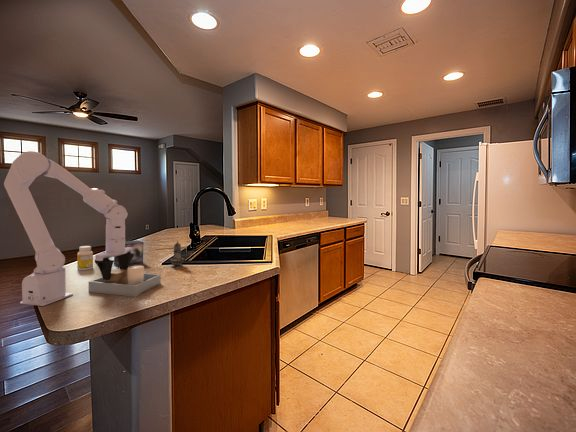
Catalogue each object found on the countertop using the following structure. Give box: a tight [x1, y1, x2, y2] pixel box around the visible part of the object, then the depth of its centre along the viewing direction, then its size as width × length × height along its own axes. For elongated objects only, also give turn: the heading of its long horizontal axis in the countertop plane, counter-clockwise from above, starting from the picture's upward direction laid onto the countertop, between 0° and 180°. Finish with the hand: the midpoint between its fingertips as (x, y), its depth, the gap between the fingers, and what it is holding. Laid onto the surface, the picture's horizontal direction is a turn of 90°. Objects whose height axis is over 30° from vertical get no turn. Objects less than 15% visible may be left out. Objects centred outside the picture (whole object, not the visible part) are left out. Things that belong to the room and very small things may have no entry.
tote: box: [88, 272, 162, 298], centre depth 93 cm, size 13×17×4 cm
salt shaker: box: [169, 241, 185, 269], centre depth 123 cm, size 6×6×12 cm
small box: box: [113, 239, 145, 267], centre depth 124 cm, size 11×6×10 cm, turn 149°
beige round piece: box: [128, 265, 145, 285], centre depth 93 cm, size 5×5×7 cm
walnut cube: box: [104, 268, 128, 284], centre depth 94 cm, size 5×5×5 cm
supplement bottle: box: [76, 245, 94, 271], centre depth 113 cm, size 5×5×10 cm
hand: (115, 276), depth 94 cm, fingers open, 7 cm apart
